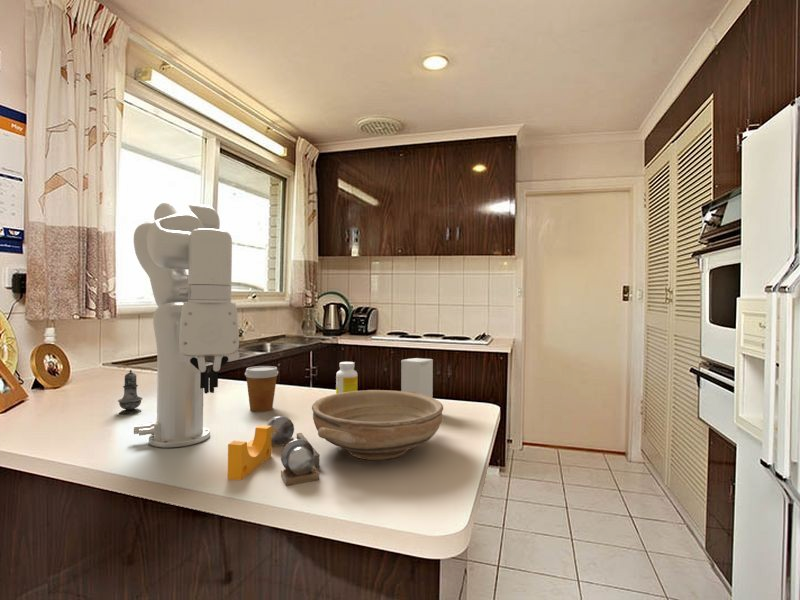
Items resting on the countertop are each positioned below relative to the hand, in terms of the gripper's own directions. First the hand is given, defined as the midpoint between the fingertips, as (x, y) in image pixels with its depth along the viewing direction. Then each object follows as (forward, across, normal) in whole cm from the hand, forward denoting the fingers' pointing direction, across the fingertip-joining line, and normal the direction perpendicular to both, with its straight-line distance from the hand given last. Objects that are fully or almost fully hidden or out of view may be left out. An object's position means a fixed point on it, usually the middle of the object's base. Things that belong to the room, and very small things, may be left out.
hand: (209, 391), depth 81 cm
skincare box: (+15, +56, +20) cm, 61 cm away
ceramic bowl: (+15, +34, -2) cm, 37 cm away
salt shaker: (+15, -18, +53) cm, 58 cm away
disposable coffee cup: (+15, +16, +42) cm, 48 cm away
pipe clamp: (+15, +7, -1) cm, 17 cm away
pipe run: (+15, +15, 0) cm, 21 cm away
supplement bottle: (+15, +41, +38) cm, 58 cm away
